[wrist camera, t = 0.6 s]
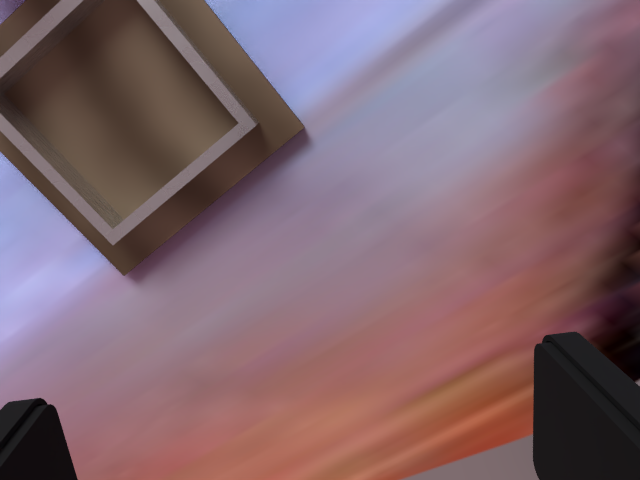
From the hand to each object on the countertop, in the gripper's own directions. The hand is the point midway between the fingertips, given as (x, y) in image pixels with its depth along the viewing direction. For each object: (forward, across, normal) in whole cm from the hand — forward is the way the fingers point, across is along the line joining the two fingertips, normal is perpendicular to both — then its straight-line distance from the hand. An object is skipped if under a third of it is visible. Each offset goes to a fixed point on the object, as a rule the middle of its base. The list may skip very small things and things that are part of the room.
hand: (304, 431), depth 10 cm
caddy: (+29, +11, -6) cm, 32 cm away
